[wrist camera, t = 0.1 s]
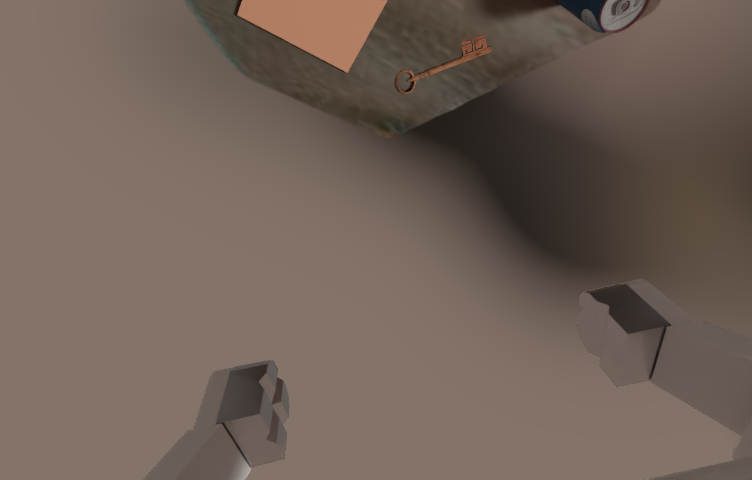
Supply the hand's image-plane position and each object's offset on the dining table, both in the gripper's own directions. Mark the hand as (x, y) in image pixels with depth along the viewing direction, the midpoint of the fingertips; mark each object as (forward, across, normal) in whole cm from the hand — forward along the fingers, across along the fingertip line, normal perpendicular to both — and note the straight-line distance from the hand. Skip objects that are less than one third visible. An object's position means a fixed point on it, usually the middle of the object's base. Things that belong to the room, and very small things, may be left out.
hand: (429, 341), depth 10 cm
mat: (+52, +2, -9) cm, 53 cm away
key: (+56, -15, +2) cm, 58 cm away
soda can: (+53, -33, -6) cm, 63 cm away
